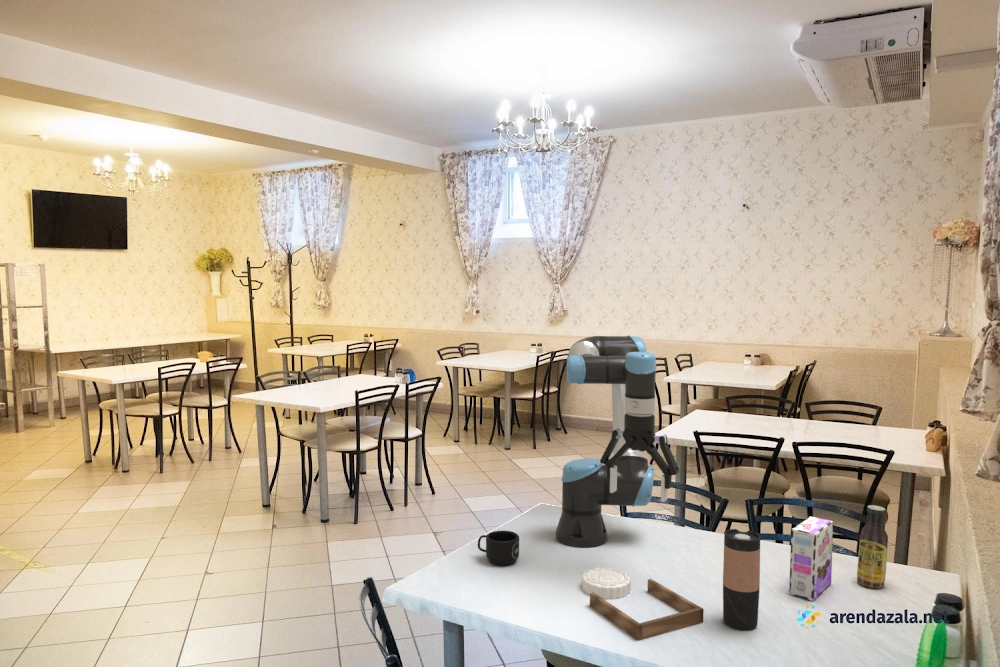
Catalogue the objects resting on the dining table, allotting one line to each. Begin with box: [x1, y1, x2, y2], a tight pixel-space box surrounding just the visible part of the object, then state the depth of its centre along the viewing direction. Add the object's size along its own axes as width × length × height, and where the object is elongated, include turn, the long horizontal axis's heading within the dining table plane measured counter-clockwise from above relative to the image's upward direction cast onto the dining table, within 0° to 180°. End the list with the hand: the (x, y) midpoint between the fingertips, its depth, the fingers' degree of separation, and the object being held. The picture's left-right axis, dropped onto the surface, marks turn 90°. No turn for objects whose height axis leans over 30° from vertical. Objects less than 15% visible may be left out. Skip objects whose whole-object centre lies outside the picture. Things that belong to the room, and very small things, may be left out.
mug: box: [477, 530, 520, 566], centre depth 187 cm, size 12×9×7 cm
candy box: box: [788, 516, 834, 602], centre depth 169 cm, size 14×6×16 cm, turn 137°
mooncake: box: [581, 567, 632, 600], centre depth 170 cm, size 12×12×4 cm
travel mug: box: [722, 528, 761, 632], centre depth 151 cm, size 8×8×20 cm
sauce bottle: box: [856, 504, 889, 590], centre depth 172 cm, size 7×6×20 cm
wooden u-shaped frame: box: [589, 578, 705, 641], centre depth 156 cm, size 18×18×3 cm
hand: (638, 496), depth 175 cm, fingers open, 13 cm apart
